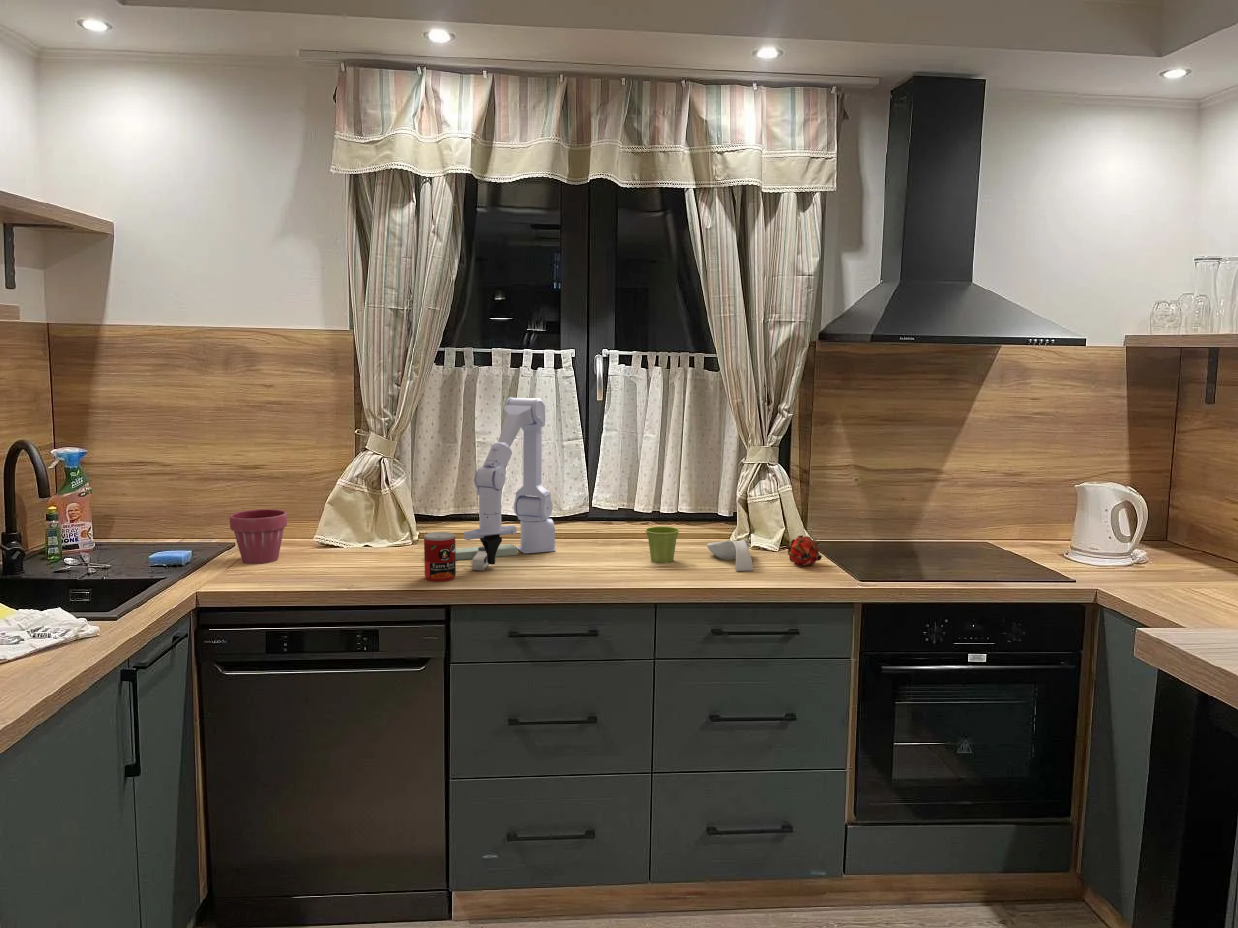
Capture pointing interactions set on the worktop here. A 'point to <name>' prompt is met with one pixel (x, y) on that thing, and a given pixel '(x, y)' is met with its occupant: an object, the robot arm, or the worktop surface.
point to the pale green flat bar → (472, 551)
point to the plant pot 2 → (662, 543)
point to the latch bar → (480, 559)
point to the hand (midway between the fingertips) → (491, 563)
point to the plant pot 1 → (259, 534)
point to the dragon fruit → (803, 551)
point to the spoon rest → (733, 553)
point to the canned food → (440, 556)
